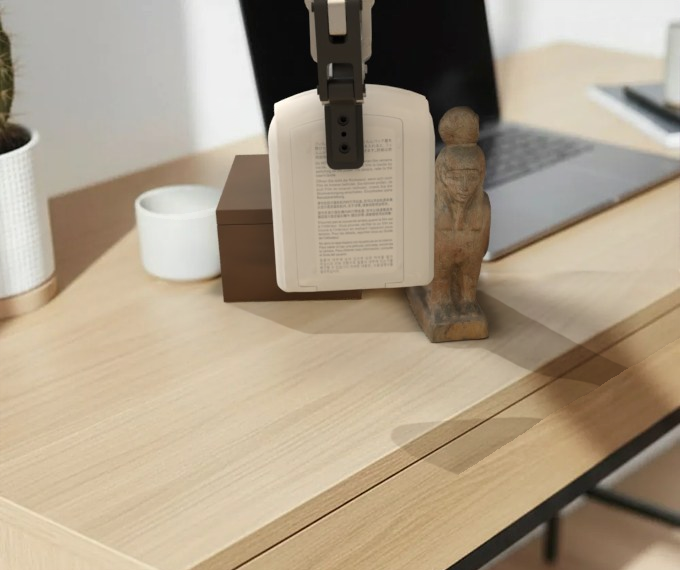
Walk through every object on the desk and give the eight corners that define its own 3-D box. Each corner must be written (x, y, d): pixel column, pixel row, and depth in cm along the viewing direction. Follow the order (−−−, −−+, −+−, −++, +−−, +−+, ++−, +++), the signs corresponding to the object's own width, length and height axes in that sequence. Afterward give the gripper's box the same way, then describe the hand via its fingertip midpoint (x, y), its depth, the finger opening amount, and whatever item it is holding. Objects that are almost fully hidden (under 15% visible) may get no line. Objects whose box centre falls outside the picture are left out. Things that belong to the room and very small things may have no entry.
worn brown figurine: (487, 368, 90) (509, 143, 77) (414, 370, 90) (424, 145, 77) (469, 279, 98) (486, 64, 86) (402, 281, 98) (409, 66, 85)
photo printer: (431, 266, 80) (430, 73, 74) (439, 289, 76) (438, 88, 70) (277, 276, 80) (262, 83, 73) (277, 300, 76) (262, 99, 70)
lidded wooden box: (363, 235, 108) (361, 151, 104) (361, 299, 95) (359, 206, 91) (241, 237, 108) (235, 154, 104) (223, 302, 96) (215, 210, 92)
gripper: (406, -157, 58) (410, 189, 68) (401, -174, 70) (405, 122, 80) (252, -150, 59) (277, 194, 68) (274, -167, 71) (292, 127, 80)
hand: (346, 154), depth 74 cm, fingers closed on photo printer, 4 cm apart
